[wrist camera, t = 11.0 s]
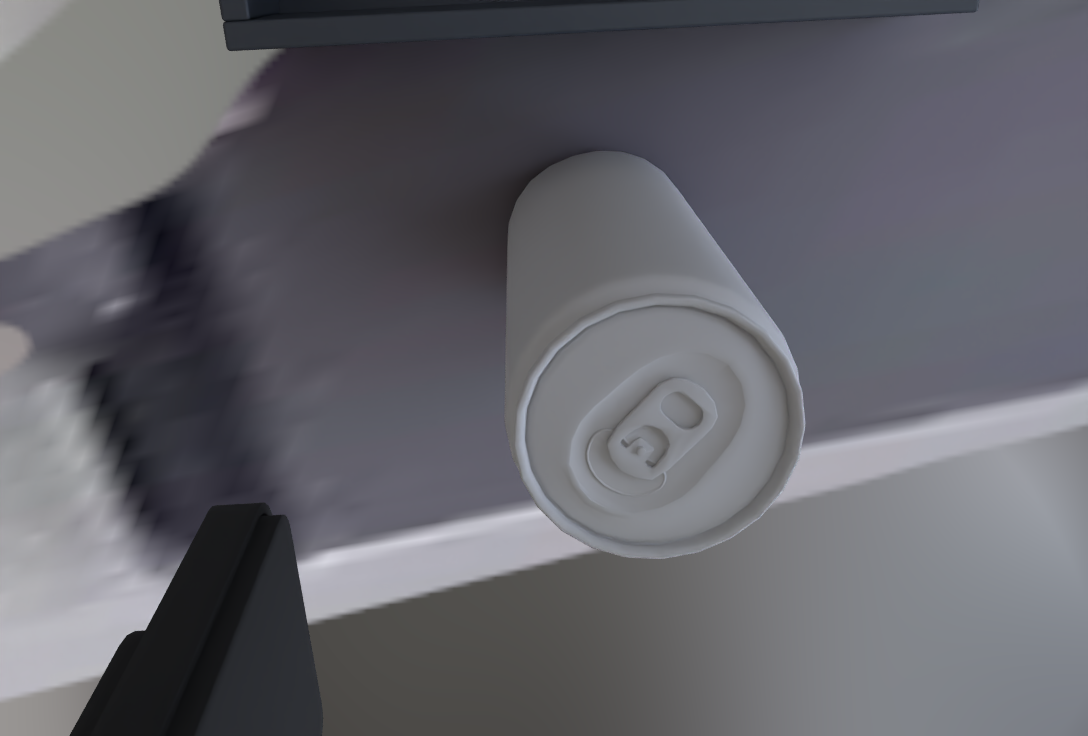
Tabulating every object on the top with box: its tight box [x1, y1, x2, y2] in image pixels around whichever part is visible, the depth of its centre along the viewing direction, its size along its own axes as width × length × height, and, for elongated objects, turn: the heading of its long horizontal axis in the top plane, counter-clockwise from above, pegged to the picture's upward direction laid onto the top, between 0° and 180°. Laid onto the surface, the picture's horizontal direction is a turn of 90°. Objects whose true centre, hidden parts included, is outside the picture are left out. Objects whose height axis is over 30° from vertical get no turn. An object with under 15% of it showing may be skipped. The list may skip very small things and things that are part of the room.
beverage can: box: [505, 151, 805, 559], centre depth 21 cm, size 5×5×12 cm
